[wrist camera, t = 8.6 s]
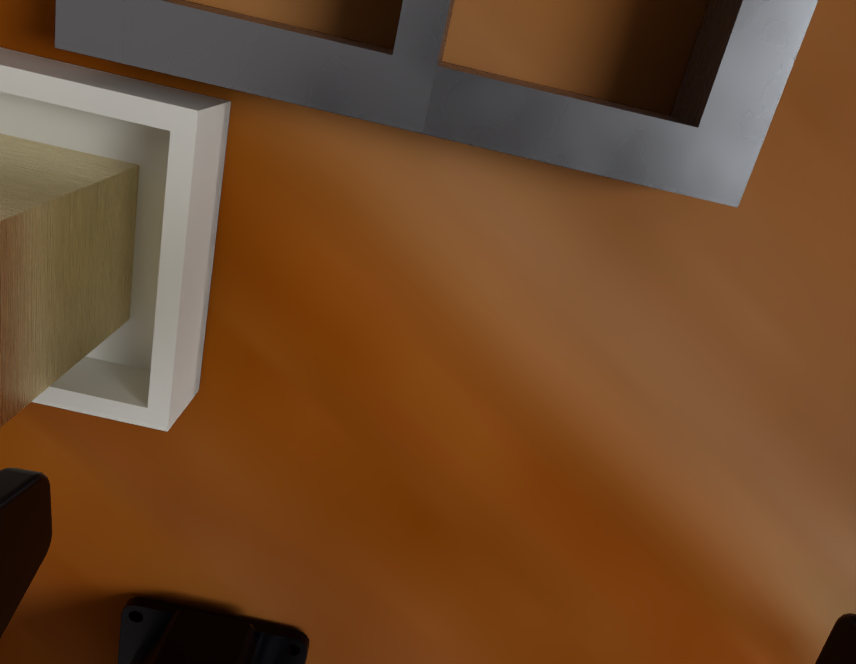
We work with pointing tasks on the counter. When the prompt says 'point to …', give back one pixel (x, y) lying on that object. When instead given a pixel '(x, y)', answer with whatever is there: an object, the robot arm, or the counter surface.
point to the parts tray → (155, 224)
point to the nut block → (60, 261)
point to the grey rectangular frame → (478, 85)
